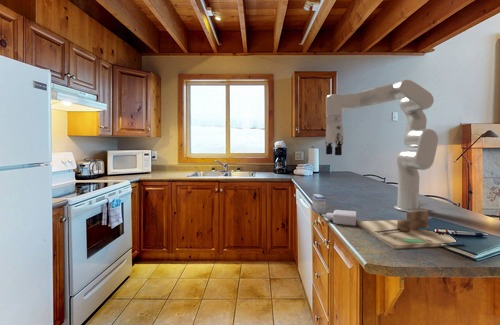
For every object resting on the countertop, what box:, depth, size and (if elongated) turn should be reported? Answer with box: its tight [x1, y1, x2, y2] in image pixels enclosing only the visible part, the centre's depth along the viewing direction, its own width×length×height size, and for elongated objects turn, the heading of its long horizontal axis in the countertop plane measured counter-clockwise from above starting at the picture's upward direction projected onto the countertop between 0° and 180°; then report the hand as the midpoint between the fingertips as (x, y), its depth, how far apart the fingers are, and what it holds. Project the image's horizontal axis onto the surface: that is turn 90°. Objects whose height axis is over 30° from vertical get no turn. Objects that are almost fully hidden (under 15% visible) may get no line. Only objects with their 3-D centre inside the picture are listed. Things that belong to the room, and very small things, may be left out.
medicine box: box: [311, 193, 327, 215], centre depth 134 cm, size 8×4×9 cm, turn 5°
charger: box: [321, 209, 357, 227], centre depth 118 cm, size 5×9×15 cm
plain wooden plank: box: [377, 209, 430, 233], centre depth 101 cm, size 24×4×7 cm, turn 105°
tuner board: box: [356, 219, 456, 250], centre depth 101 cm, size 26×26×1 cm
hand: (333, 154), depth 128 cm, fingers open, 9 cm apart
